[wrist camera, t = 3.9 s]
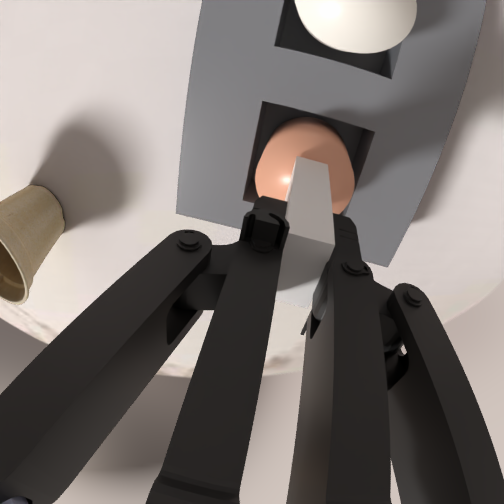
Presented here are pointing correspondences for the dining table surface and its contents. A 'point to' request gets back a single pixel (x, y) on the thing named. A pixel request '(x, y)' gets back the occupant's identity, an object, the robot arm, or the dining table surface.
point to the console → (322, 109)
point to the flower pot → (26, 238)
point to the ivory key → (358, 23)
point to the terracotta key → (310, 147)
